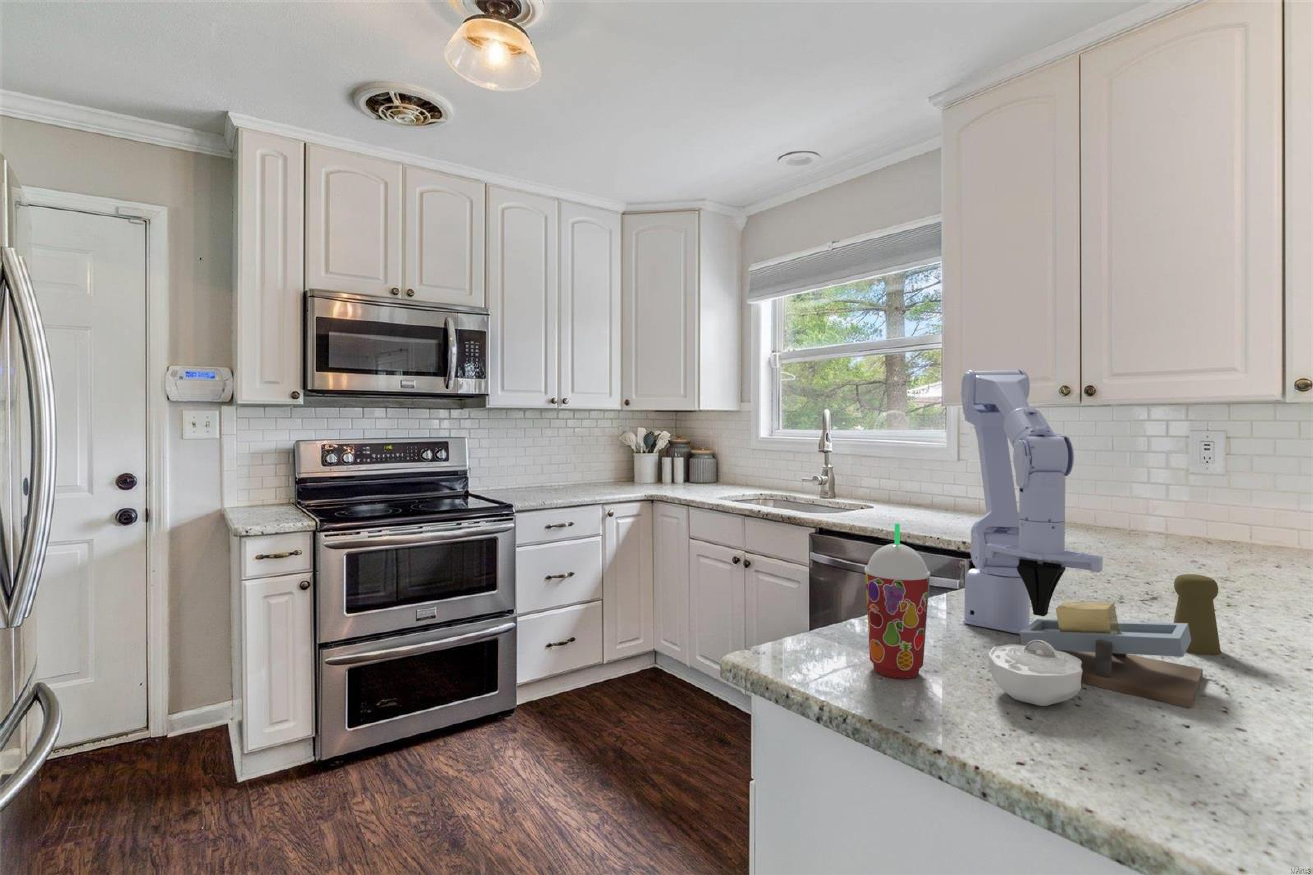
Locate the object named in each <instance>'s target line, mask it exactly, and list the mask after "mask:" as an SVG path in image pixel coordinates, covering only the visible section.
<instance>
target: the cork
mask: <svg viewBox="0 0 1313 875" xmlns="http://www.w3.org/2000/svg"><path fill="white" fill-rule="evenodd" d="M1173 587H1174V590H1175V593H1176V594H1177V595H1178V596H1177V602H1176V607H1175V613H1174V618H1173V623H1188V626H1189V631H1190V636H1191V642H1190V644H1189V646H1188V648H1187V650H1186V652H1185V653H1191V654H1197V655H1206V656H1218V655H1221V653H1222V652H1221V651H1222V649H1221V644H1220V638H1219V631H1218V623H1217V617H1216V611H1215V609H1216V608H1215V604H1214V600H1215V599H1216V598H1217V596H1218V595H1219V585H1218V583H1217V581H1216V580H1215V579H1214V578H1212V577H1210V576H1206V575H1202V574H1198V573H1197V574H1196V573H1183V574H1179V575H1177V576H1176V577H1175V579H1174V582H1173Z"/></svg>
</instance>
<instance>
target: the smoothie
mask: <svg viewBox="0 0 1313 875" xmlns="http://www.w3.org/2000/svg"><path fill="white" fill-rule="evenodd" d="M900 532H901V524H900V523H894V543H889V544H886V545H883V546H880V547H879V548H877V550H876V551H874V552H873V554H872V555H871V557H870V559H869V561H868V563H867V565H865V566H864V573H865V576H864V577H865V593H866V594H865V595H866V611H867V612H866V613H867V628H868V629H867V630H868V632H867V633H868V647H869V648H868V649H869V650H868V651H869V661H870V662H871V663H872V665H873V666H872V667H873V669H874V671H875V672H876V673H878V674H879V675H882V676H884V677H886V678H887V677H888V678H890V679H891V678H892V679H901V680H902V679H904V680H905V679H906V680H907V679H912V678H916V677H918V675H919V674H920V670H921V668H923V666H924V658H925V644H926V635H927V634H926V633H927V632H926V630H927V618H928V606H929V605H928V604H929V592H930V578H931V572H930V570H928V568H927V566H926V563H925V561H924V559H923V557H922V556H921V555H920V554H919V552H917V551H916V550H915V549H913V548H912V547H910V546H907V545H905V544H902V543H901V542H900V541H901V540H900V539H901V538H900V537H901V534H900Z"/></svg>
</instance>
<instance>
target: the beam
mask: <svg viewBox="0 0 1313 875" xmlns="http://www.w3.org/2000/svg"><path fill="white" fill-rule="evenodd" d="M1118 626H1119V631H1120V632H1119V633H1118V634H1107V633H1080V632H1060V630H1059V625H1058V619H1040V618H1039V619H1038V618H1037V619H1036V620H1034V622H1033V623H1031V624H1030V625H1028V626H1027V627H1026V628H1024V629H1023V630H1022V631H1020V632H1019V633H1020V634H1019V638H1020V645H1024V646H1026V645H1027V644H1028V643H1029V642H1030V641H1033V640H1042V641H1045V642H1047V643H1048V644H1050V645H1051V646H1052V647H1053V648H1054V650H1066V651H1084V652H1095V649H1096V640H1102V641H1107V642H1112V653H1121V654H1130V655H1138V656H1139V655H1141V656H1143V655H1145V656H1157V657H1159V656H1160V657H1175V658H1176V657H1177V658H1179V657H1180V658H1184V657H1185V654H1186V653H1187V652H1186V650H1187V648H1188V646H1189V644H1190V642H1191V636H1190V631H1189V626H1188V623H1174V622H1155V621H1154V622H1152V621H1151V622H1149V621H1148V622H1147V621H1118Z"/></svg>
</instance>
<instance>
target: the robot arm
mask: <svg viewBox="0 0 1313 875" xmlns="http://www.w3.org/2000/svg"><path fill="white" fill-rule="evenodd" d="M1030 385H1031V384H1030V378H1029V375H1028V373H1027V372H1026V371H1025V370H1024V369H1017V370H1016V369H1015V370H973V369H969V370H967V371H966V372H965V373H964V374H963V376H962V380H961V392H960V395H961V405H962V413H963V415H964V420H965V421H966V422H967V423H969V424H971V425H973V426H974V429H975V434H976V440H977V446H978V453H979V456H978V457H979V462H980V471H981V472H980V473H981V478H982V487H983V495H984V504H985V511H986V512H985V513H986V514H985V515H983V516H981V517H980V518H979V519H978V520H976V521H975V522H974V523H973V525H972V527H971V529H970V539H971V540H970V549H969V550H970V557H971V561H972V563H973V564H972V565H973V566H974V567H976V568H970V569H969V570H968V572H967V574H966V577H965V581H964V611H963V612H964V615H963V616H964V619H963V620H962V623H963V624H966V625H972V626H977V627H982V628H987V629H991V630H998V631H1002V632H1006V633H1013V634H1017V635H1020V633H1019V632H1020V631H1022V630H1023V629H1024V628H1026V627H1027V626H1028V625H1030V624H1031V623H1033V622H1034V621H1035V620H1034V621H1033V620H1031V609H1032V613H1033V615H1034V616H1039V617H1045V616H1047V615H1048V614H1049V608H1050V603H1051V600H1052V597H1053V595H1054V591H1055V590H1056V587H1057V585H1058V583H1059V581H1060V580H1061V578H1062V576H1063V574H1064V572H1065V570H1066V568H1069V569H1078V570H1086V571H1090V572H1093V573H1094V572H1095V573H1100V572H1102V571H1103V559H1104V558H1103V556H1102V555H1094V554H1087V553H1081V552H1074V551H1070V550H1065V548H1066V547H1065V544H1066V537H1065V536H1066V532H1065V531H1066V479H1067V478H1066V477H1068V476H1069V475H1070V474H1071V472H1072V470H1073V467H1074V461H1075V452H1074V448H1073V444H1072V441H1071V440H1070V437H1069V436H1068V435H1062V434H1060V433H1059V434H1058V433H1054V431H1053V429H1052V427H1051V426H1050V425H1049V423H1048V422H1047V419H1046V418H1045V417H1044V415H1043V413H1042V412H1041V411H1040V410H1038V409H1037V408H1036V407H1031V406H1030V404H1029V402H1028V398H1029V396H1030V387H1031V386H1030ZM1009 443H1010V445H1011V447H1012V448H1013V454H1012V460H1013V468H1014V471H1015V483H1016V487H1018V488H1019V490H1018V491H1019V492H1018V493H1019V494H1018V495H1019V496H1018V498H1019V500H1018V502H1017V496H1016V489H1015V483H1014V475H1013V469H1012V461H1011V453H1010V447H1009ZM1017 503H1018V504H1017Z"/></svg>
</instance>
